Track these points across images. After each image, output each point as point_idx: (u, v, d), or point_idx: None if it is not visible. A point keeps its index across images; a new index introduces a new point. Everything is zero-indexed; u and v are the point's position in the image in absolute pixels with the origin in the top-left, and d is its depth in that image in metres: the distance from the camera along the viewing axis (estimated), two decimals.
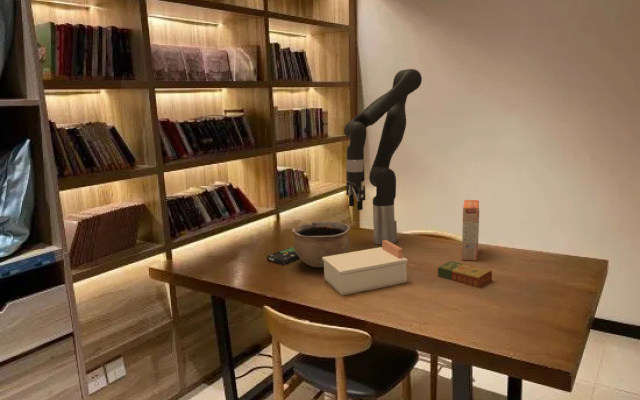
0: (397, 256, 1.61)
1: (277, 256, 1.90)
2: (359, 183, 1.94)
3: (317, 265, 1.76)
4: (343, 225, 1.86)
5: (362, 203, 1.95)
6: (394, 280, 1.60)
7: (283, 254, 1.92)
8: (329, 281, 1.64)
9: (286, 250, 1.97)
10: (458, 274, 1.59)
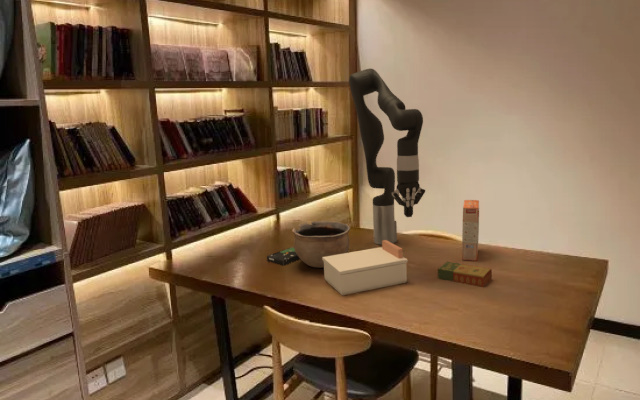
0: (397, 256, 1.61)
1: (277, 256, 1.90)
2: None
3: (317, 265, 1.76)
4: (343, 225, 1.86)
5: None
6: (394, 280, 1.60)
7: (283, 254, 1.92)
8: (329, 281, 1.64)
9: (286, 250, 1.97)
10: (461, 274, 1.58)
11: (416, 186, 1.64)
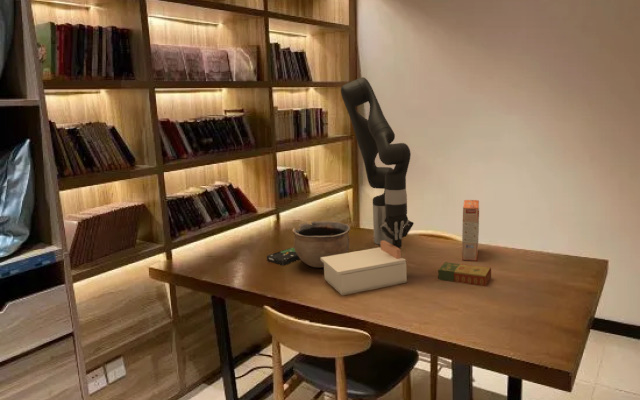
0: (395, 256, 1.61)
1: (277, 256, 1.90)
2: None
3: (317, 265, 1.76)
4: (343, 225, 1.86)
5: None
6: (394, 280, 1.60)
7: (283, 254, 1.92)
8: (329, 281, 1.64)
9: (287, 250, 1.97)
10: (462, 274, 1.58)
11: (404, 219, 1.65)
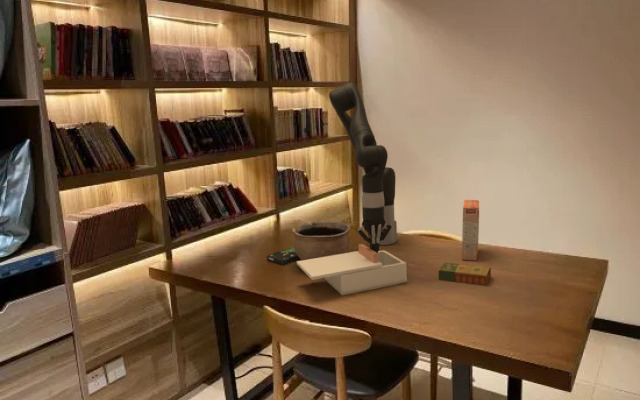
0: (372, 260, 1.58)
1: (277, 256, 1.90)
2: None
3: None
4: (343, 225, 1.86)
5: None
6: (394, 280, 1.60)
7: (283, 254, 1.92)
8: (329, 281, 1.64)
9: (287, 250, 1.97)
10: (463, 274, 1.58)
11: (382, 222, 1.62)
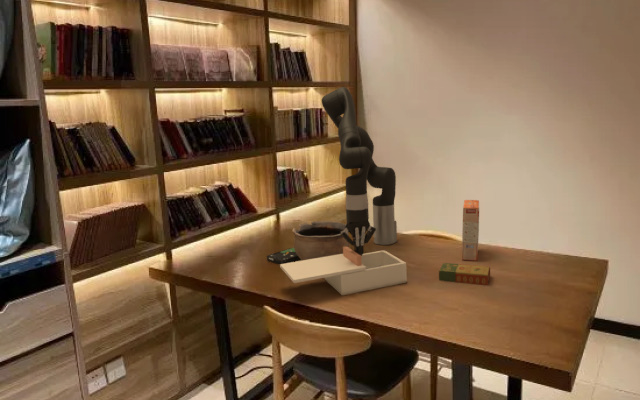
0: (356, 263, 1.56)
1: (277, 256, 1.90)
2: None
3: None
4: (343, 225, 1.86)
5: None
6: (394, 280, 1.60)
7: (283, 254, 1.92)
8: (329, 281, 1.64)
9: (287, 250, 1.97)
10: (464, 274, 1.58)
11: (366, 225, 1.60)
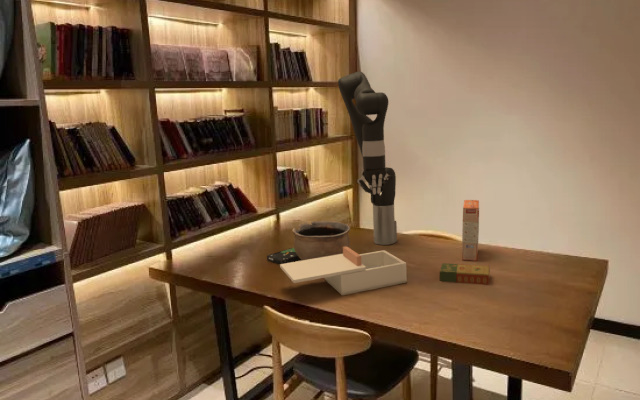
0: (356, 263, 1.56)
1: (276, 256, 1.90)
2: None
3: None
4: (343, 225, 1.86)
5: None
6: (394, 280, 1.60)
7: (283, 254, 1.92)
8: (329, 281, 1.64)
9: (287, 250, 1.97)
10: (465, 274, 1.58)
11: (383, 173, 1.59)
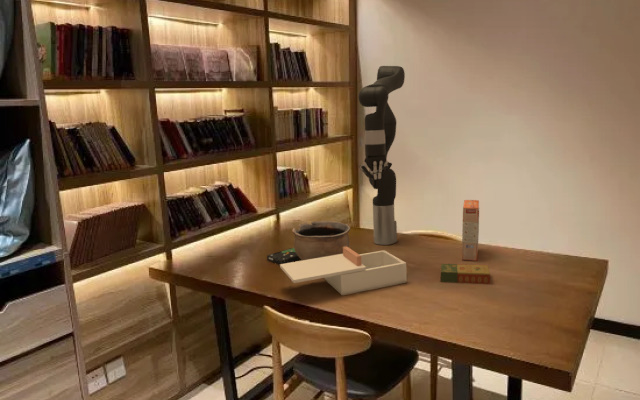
0: (356, 263, 1.56)
1: (276, 256, 1.90)
2: None
3: None
4: (343, 225, 1.86)
5: None
6: (394, 280, 1.60)
7: (283, 254, 1.92)
8: (329, 281, 1.64)
9: (288, 250, 1.97)
10: (466, 274, 1.58)
11: (383, 159, 1.75)
